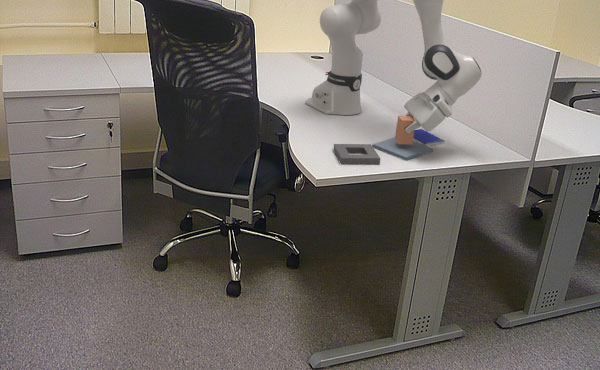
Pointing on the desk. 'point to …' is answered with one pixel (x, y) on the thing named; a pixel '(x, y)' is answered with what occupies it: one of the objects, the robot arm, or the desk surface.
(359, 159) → the pocket holder
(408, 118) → the terracotta block
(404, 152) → the slate mat
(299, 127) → the desk surface
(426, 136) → the hard drive
